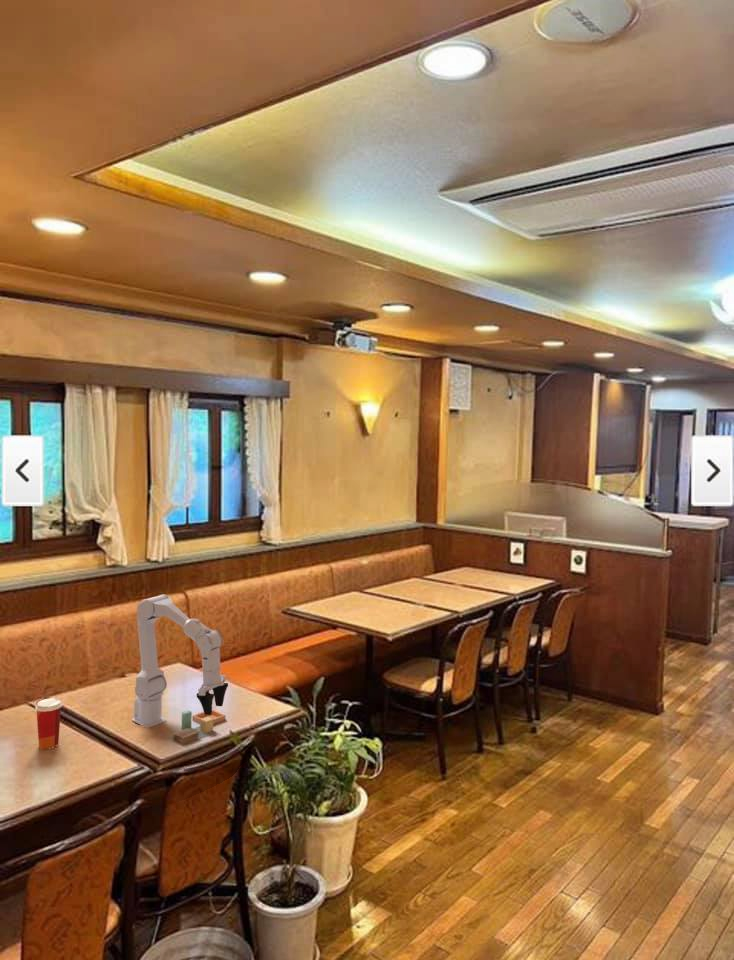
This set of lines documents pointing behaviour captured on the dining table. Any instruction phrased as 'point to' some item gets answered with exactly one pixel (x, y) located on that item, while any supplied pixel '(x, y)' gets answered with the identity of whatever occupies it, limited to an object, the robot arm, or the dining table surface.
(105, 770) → the dining table surface
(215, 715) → the tray
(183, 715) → the dowel
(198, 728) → the bench
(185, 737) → the brown rectangular block
